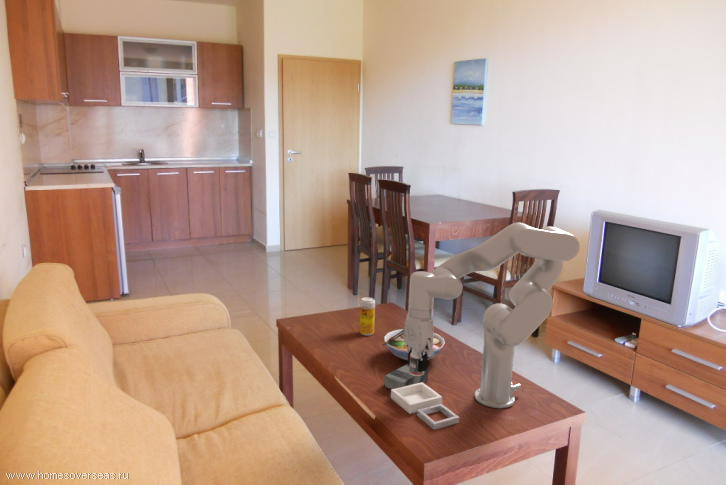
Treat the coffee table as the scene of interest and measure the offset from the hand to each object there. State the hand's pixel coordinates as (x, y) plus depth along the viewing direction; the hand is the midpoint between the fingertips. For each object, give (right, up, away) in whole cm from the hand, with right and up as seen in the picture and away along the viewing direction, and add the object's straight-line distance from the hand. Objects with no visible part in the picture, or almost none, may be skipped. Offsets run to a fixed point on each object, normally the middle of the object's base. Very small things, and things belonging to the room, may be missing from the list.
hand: (417, 367), depth 172 cm
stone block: (-3, -10, +14) cm, 18 cm away
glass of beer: (-15, +1, +58) cm, 60 cm away
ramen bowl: (+2, -5, +35) cm, 36 cm away
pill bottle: (0, -2, 0) cm, 2 cm away
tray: (0, -12, +3) cm, 12 cm away
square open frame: (+5, -14, -7) cm, 17 cm away
